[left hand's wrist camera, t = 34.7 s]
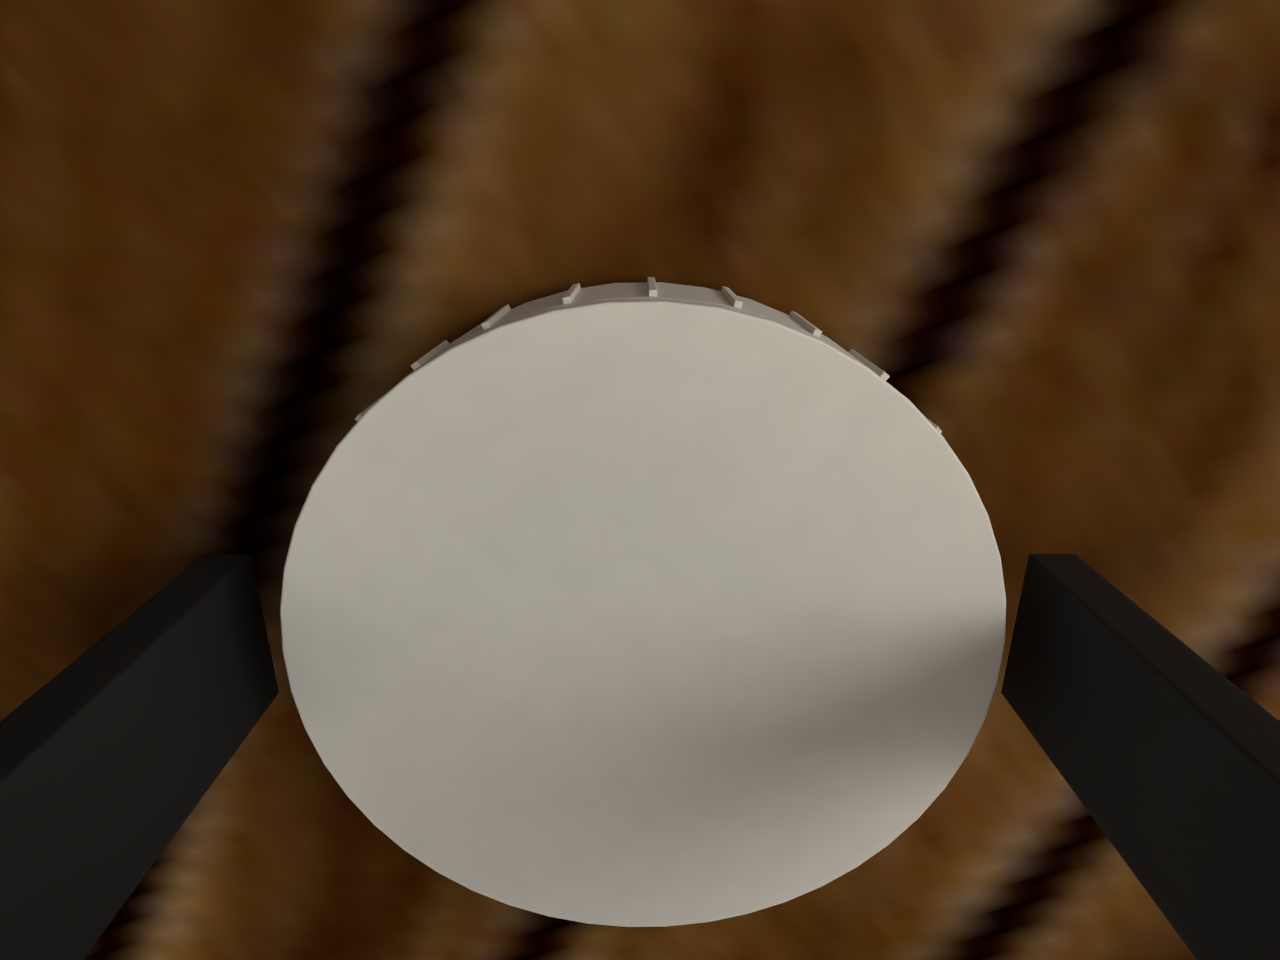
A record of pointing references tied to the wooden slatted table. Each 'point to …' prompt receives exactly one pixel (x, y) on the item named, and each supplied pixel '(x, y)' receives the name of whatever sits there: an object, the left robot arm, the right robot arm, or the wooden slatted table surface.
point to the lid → (643, 608)
